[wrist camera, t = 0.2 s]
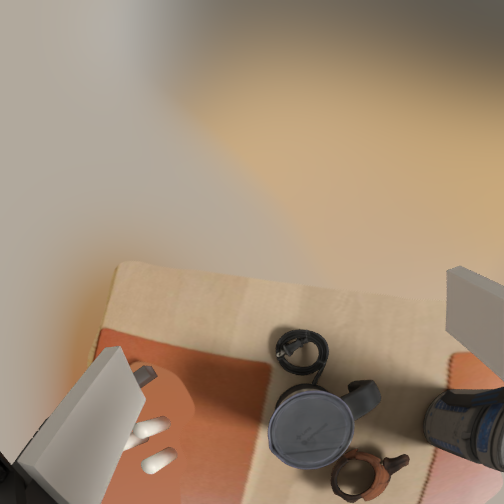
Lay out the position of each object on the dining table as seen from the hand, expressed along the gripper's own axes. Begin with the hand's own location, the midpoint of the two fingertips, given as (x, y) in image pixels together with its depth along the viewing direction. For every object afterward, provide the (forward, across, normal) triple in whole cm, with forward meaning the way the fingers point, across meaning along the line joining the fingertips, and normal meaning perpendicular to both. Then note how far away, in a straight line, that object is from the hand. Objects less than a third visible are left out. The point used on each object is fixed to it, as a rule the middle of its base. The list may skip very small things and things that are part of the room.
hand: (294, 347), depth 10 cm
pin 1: (+24, +27, +27) cm, 45 cm away
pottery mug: (+18, -8, +38) cm, 42 cm away
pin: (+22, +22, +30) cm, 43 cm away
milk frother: (+27, -1, +24) cm, 36 cm away
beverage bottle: (+20, -22, +34) cm, 46 cm away
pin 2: (+25, +22, +26) cm, 42 cm away
